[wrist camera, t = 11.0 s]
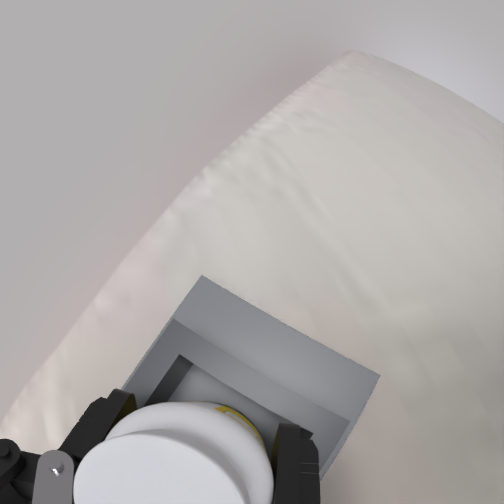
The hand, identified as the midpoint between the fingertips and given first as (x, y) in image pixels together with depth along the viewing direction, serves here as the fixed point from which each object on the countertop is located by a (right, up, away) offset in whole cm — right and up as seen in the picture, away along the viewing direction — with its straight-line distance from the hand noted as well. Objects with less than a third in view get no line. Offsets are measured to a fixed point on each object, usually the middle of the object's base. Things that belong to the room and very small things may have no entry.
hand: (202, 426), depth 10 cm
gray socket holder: (0, -4, +5) cm, 7 cm away
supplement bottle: (0, -4, +3) cm, 5 cm away
